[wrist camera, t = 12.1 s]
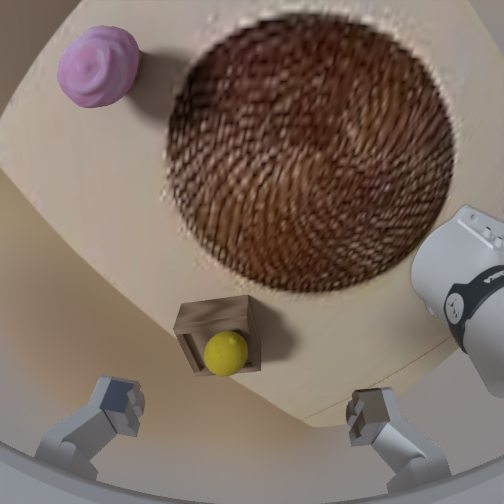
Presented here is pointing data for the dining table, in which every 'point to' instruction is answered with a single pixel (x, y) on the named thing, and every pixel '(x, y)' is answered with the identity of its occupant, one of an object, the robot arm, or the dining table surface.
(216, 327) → the walnut tray
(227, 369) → the lemon
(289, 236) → the dining table surface
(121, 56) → the cupcake
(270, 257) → the dining table surface
